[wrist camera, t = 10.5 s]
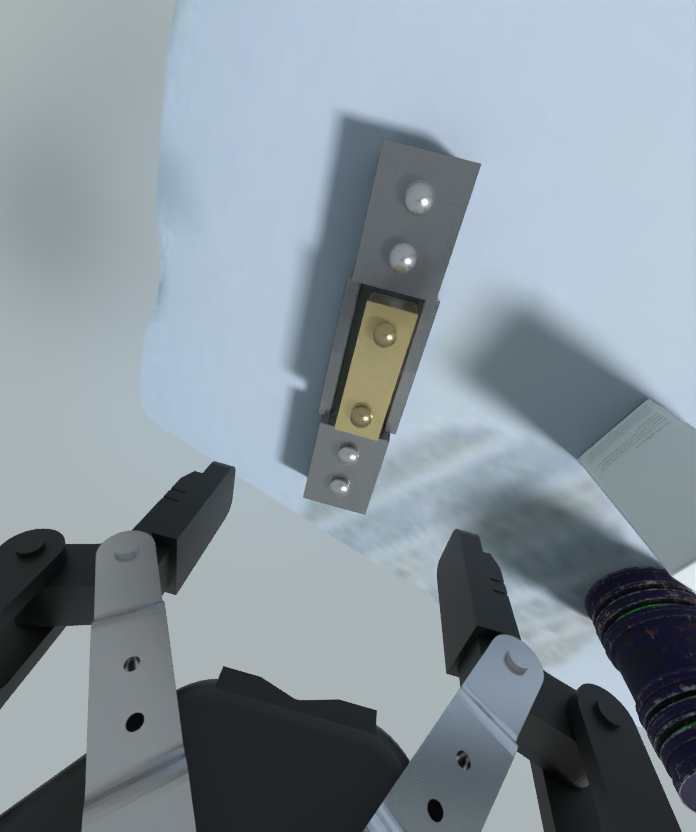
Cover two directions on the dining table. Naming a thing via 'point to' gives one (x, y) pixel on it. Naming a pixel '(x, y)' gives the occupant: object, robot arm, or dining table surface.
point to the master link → (376, 364)
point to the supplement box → (652, 483)
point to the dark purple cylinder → (654, 660)
